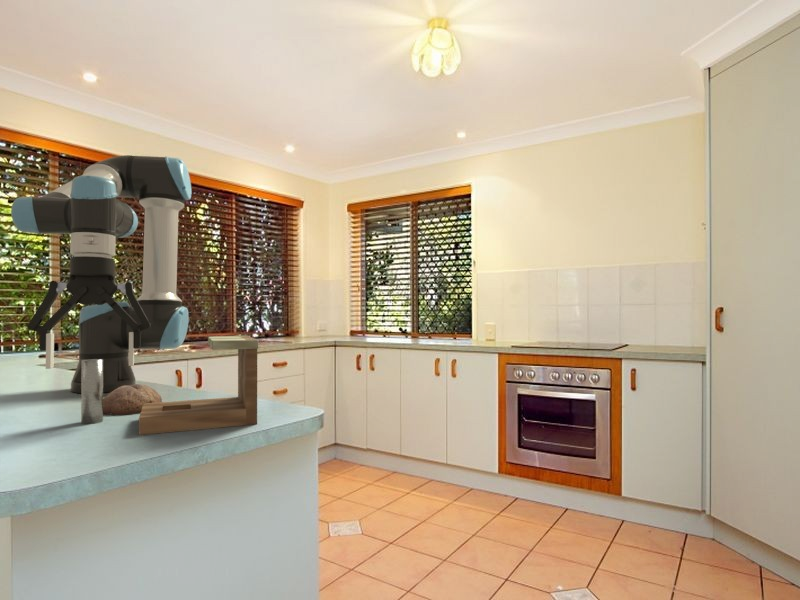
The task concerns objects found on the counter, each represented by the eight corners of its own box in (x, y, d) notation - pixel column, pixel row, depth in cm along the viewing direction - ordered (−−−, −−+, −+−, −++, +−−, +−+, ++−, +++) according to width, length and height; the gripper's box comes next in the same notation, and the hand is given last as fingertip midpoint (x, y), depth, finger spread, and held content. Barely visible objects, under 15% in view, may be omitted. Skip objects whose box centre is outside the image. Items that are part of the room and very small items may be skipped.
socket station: (144, 417, 102) (144, 338, 102) (247, 409, 110) (247, 335, 110) (138, 436, 87) (139, 343, 87) (257, 425, 95) (258, 340, 95)
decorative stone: (128, 418, 103) (128, 391, 103) (86, 413, 107) (86, 387, 107) (173, 407, 114) (173, 382, 114) (134, 403, 118) (134, 379, 118)
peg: (82, 420, 99) (83, 359, 99) (104, 419, 100) (104, 358, 101) (79, 424, 96) (80, 361, 96) (101, 422, 97) (101, 360, 97)
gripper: (8, 251, 90) (6, 371, 89) (163, 257, 100) (162, 365, 99) (20, 256, 97) (18, 367, 96) (164, 261, 107) (163, 362, 106)
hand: (91, 366), depth 98 cm, fingers open, 13 cm apart
